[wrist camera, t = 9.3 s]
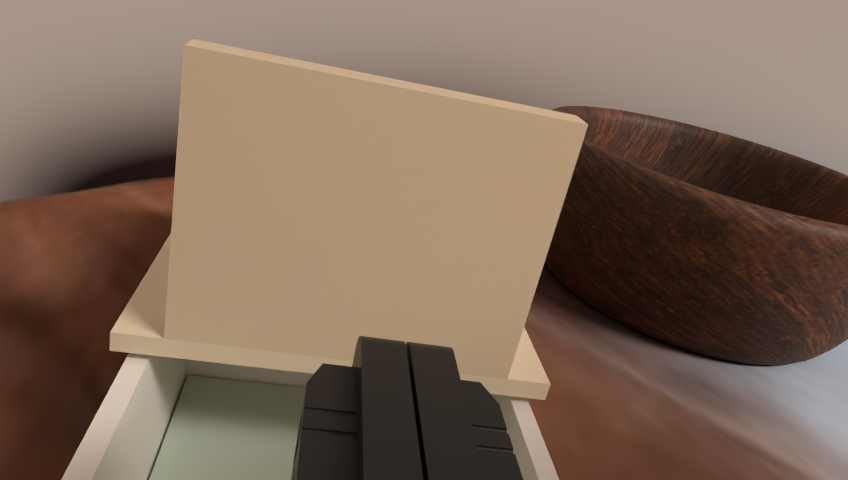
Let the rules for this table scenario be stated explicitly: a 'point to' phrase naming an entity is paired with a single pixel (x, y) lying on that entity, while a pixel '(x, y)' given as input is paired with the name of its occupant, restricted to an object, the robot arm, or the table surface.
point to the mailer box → (227, 424)
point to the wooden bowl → (705, 239)
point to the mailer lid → (351, 220)
